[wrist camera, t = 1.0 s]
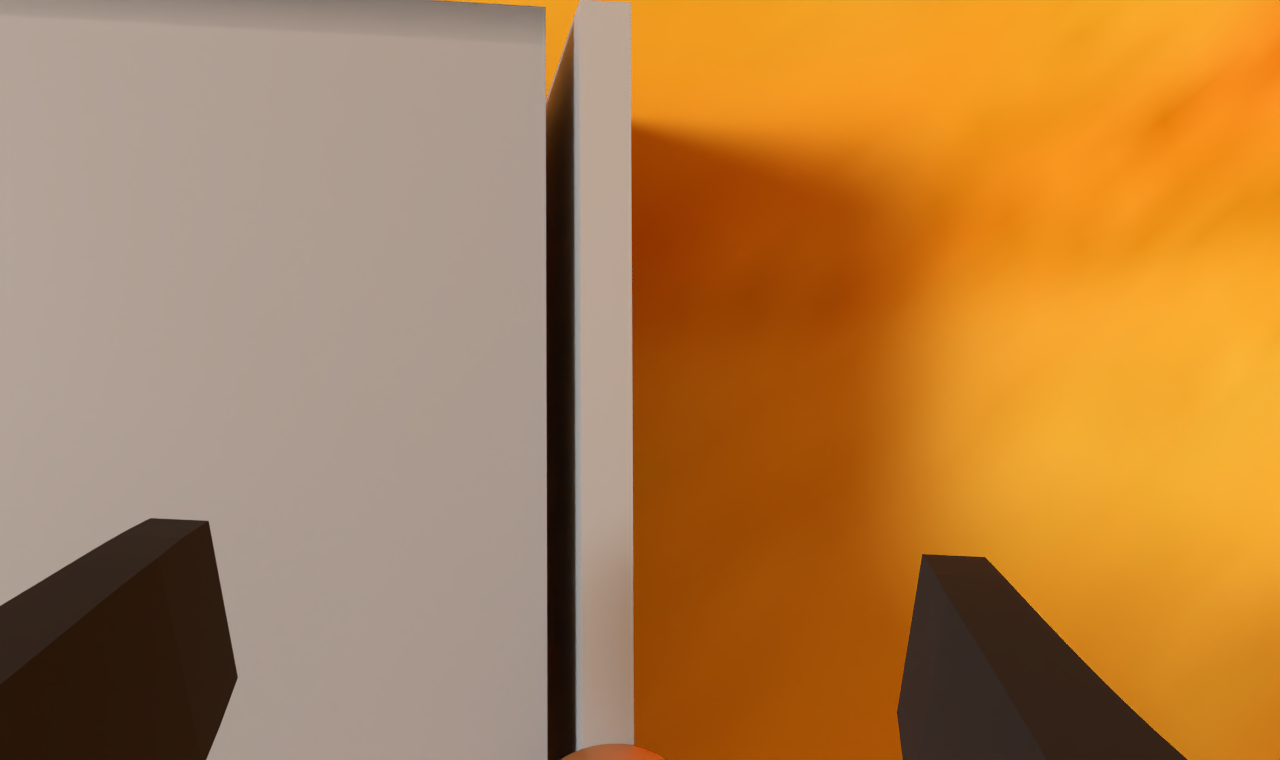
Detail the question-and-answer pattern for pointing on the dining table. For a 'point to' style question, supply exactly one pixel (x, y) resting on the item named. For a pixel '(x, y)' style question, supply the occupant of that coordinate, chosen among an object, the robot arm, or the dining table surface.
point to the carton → (292, 345)
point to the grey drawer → (590, 392)
